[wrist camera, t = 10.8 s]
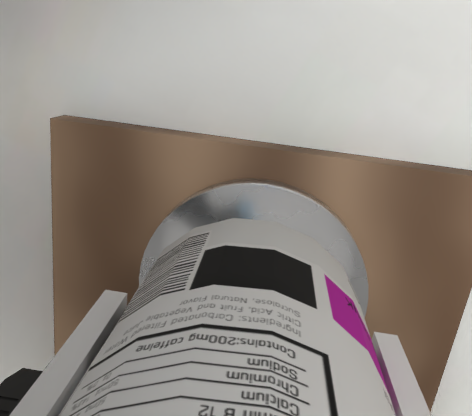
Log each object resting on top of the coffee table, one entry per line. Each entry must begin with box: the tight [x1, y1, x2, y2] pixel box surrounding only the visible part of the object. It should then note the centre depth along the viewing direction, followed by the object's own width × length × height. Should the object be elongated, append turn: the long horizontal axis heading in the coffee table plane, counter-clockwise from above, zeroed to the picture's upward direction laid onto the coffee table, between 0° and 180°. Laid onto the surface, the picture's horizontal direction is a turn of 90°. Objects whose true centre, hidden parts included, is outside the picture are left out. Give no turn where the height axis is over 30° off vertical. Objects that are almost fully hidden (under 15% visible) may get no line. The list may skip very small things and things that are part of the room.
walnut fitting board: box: [50, 115, 472, 411], centre depth 22 cm, size 18×24×1 cm
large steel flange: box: [139, 178, 369, 318], centre depth 19 cm, size 10×10×1 cm
